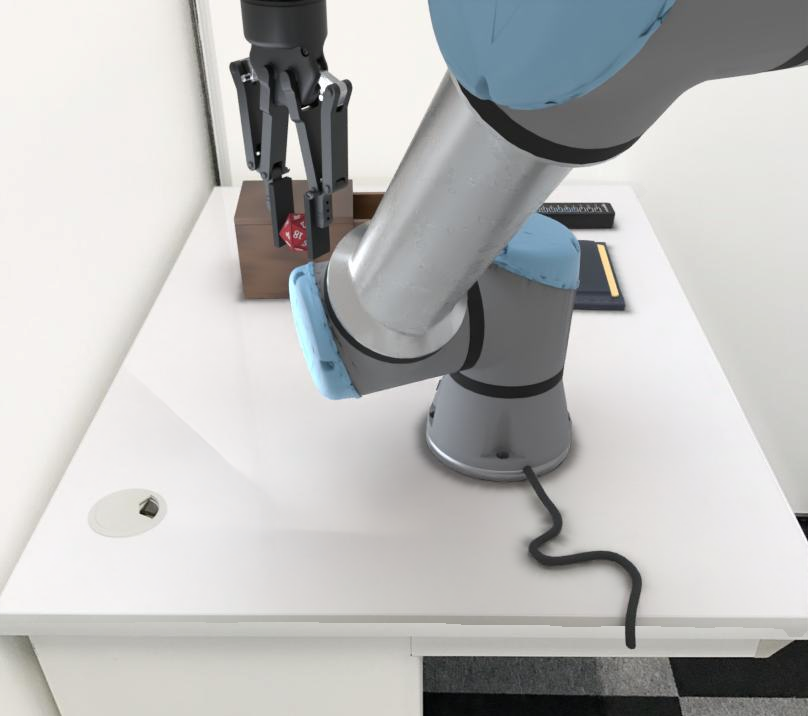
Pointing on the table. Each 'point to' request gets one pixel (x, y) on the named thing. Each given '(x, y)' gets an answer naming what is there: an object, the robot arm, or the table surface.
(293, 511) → the table surface
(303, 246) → the dice
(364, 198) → the drawer
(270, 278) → the brown wooden box
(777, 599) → the table surface
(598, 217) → the multiport hub
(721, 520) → the table surface
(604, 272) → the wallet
